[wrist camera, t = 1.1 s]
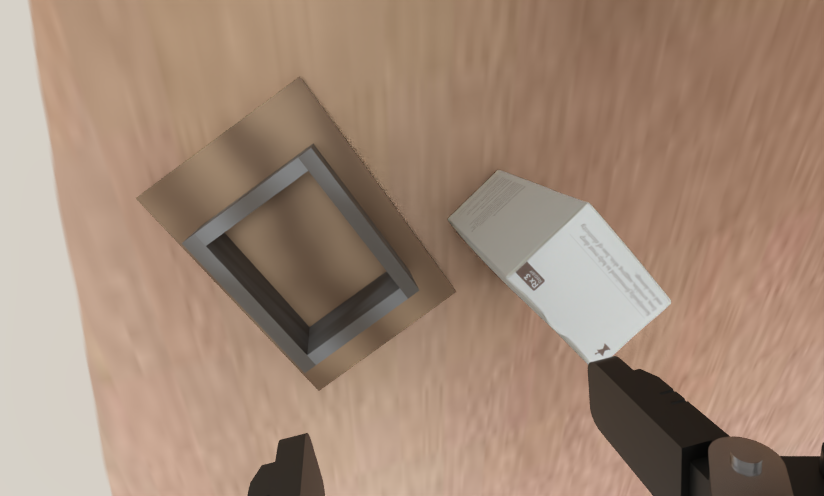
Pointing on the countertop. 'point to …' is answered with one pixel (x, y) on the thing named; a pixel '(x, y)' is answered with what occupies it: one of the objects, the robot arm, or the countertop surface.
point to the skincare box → (561, 263)
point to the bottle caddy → (300, 236)
